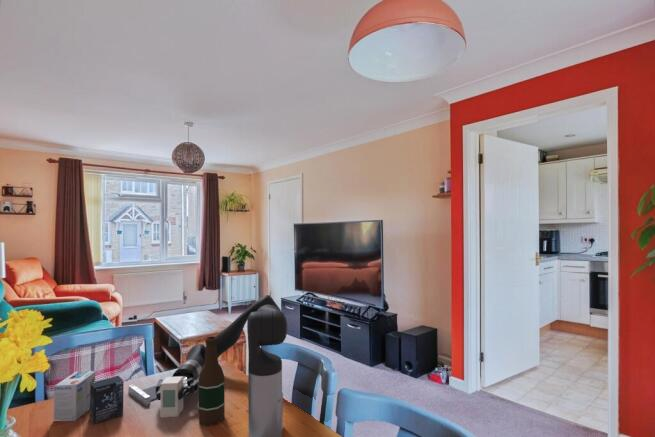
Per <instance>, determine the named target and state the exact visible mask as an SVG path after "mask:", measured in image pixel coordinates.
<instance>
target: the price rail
mask: <svg viewBox="0 0 655 437" xmlns="http://www.w3.org/2000/svg"><path fill="white" fill-rule="evenodd" d="M142 390H143V389H141V388H139V387H138V386H136V385H135V384H129V385H128V394H129V395H131V397H133V398H134V399H135V400H137V401H138V402H140V404H142V405H143V406H144V407H147V406H149V405H151V401H150V396H149V395H147V394H146V393H145V392H144V391H142Z"/></svg>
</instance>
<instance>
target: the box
mask: <svg viewBox="0 0 655 437" xmlns="http://www.w3.org/2000/svg"><path fill="white" fill-rule="evenodd" d="M124 385H125V384H124V379H122V377H120V375H115V376H111V377H107V378H104V379H100V380H95V382H91V383H90V409H89V418H90V420H91V422H92V424H93V425H96V424H98V423H101V422H104V421H108V420H111V419H114V418H118V417H120V416H123V415H124Z"/></svg>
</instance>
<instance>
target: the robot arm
mask: <svg viewBox="0 0 655 437" xmlns="http://www.w3.org/2000/svg"><path fill="white" fill-rule="evenodd" d="M245 326H246V328H247V346H248V347H247V349H248V364H247V365H248V370H247V371H248V372H247V374H248V376H247V378H248V379H247V380H248V381H247V383H248V384H247V385H248V388H247V389H248V392H247V393H248V398H247V399H248V402H247V403H248V406H247V407H248V409H247V411H248V412H247V413H248V414H247V415H248V419H247V420H248V426H247V429H248V437H283V429H284V428H283V427H284V395H283V394H284V393H283V361H282V358H281V357H280V356H278V354H274V353H271V352H268V351H266V350H265V349H263V348H261V347H264V346H266V347H267V346H277V345H281V344H283V343H284V342H285V340H286V338H287V334H288V321H287V317H286V315H285V314H284V312H283V311H282V310H281V309H280V307H279V306H278V305H277V303H276V301H274V299H273V298H272V296H271V295H270V294H266V295H263V296H261V297H260V298H258V299H257V300H256V301H255V302H253V303H252V304H251V305H250V306H249V307H248V308H247V309H245V310H244V311H243V312H242V313H241V314H239V316H238V317H237V318H236V319H235V320H234V321H233V322H231V323H230V324H229V325H228V326H227V327H225V328H224V329H223V330H221V331H220V332H219V333H218V334H217V335H215V336H214V337H217V340H218V342H217V354H218V358H219V357H221V355H222V354H224V353H225V352H226V351H228V350H229V349H231V348H232V347H233V346H234V345H236V344H237V342H238V341H239V339H240V337H241V336H242V333H243V330H244V328H245ZM205 355H206V345H204V344H202V343H198V344H197V343H196V344H195V345H193V346H192V347H191V348H190V349H189V351H188V352H187V355H186V357H185V359H186V360H185V361H184V362H182V364H181V365H180V366H179V367H178V368H177V369H176V370H175V371H174V373H173V374H172V376H171V377H181V376H183V387H182V389H181V390H180V391H179V392H178V400H181V399H182V398H183V399H184V398H185V397H186V395H188V394H191V395H192V394H195V393H196V392H197V391H199V374H200V371H201V369H202V368H203V366H204V364H205ZM163 381H164V379H163V378H160V379H159V380H158V381H157V383H156V385H155V386H156V400H157V401H161V383H162V382H163Z"/></svg>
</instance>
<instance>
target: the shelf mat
mask: <svg viewBox="0 0 655 437" xmlns="http://www.w3.org/2000/svg"><path fill="white" fill-rule="evenodd" d="M141 390H142V391H144V392H145V393H146V394H147V395H149V396H150V402H152V401H155V400H157V399H156V385H154V386H151V387H148V388H147V387H146V388H145V389H141Z"/></svg>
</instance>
